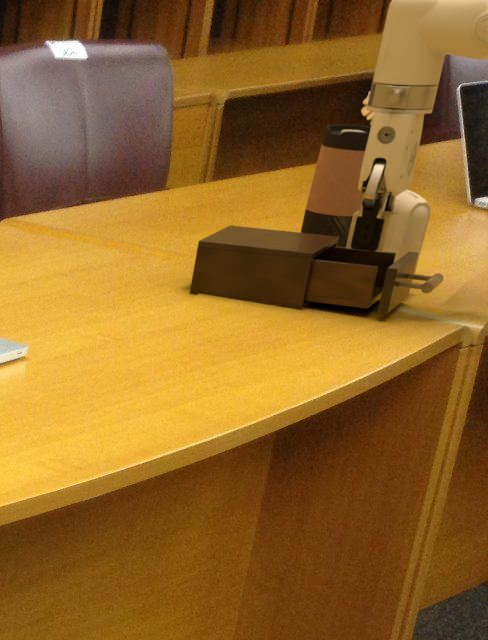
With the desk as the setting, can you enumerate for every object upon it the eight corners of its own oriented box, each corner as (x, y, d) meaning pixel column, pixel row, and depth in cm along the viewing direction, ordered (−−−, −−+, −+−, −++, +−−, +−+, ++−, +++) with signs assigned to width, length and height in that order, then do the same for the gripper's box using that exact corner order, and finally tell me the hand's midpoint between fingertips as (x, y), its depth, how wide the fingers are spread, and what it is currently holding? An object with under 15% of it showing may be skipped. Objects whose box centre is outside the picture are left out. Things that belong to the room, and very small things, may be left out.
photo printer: (343, 269, 225) (365, 183, 219) (368, 269, 226) (391, 182, 220) (390, 286, 216) (414, 196, 210) (416, 285, 217) (441, 196, 211)
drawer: (441, 300, 204) (452, 255, 201) (421, 319, 194) (433, 272, 191) (302, 283, 213) (311, 241, 210) (277, 300, 203) (286, 256, 201)
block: (353, 243, 204) (361, 208, 202) (390, 247, 201) (398, 212, 199) (345, 248, 200) (353, 213, 198) (382, 252, 198) (391, 216, 196)
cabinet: (327, 292, 212) (339, 236, 209) (300, 311, 202) (312, 253, 198) (219, 279, 220) (229, 225, 217) (188, 297, 209) (198, 240, 206)
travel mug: (345, 268, 226) (381, 126, 217) (349, 279, 220) (387, 134, 211) (289, 263, 229) (323, 122, 219) (292, 274, 222) (327, 130, 213)
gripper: (420, 106, 184) (385, 260, 193) (446, 95, 197) (412, 240, 205) (354, 102, 188) (322, 253, 197) (383, 91, 201) (352, 233, 209)
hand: (368, 245), depth 201 cm, fingers closed on block, 4 cm apart
